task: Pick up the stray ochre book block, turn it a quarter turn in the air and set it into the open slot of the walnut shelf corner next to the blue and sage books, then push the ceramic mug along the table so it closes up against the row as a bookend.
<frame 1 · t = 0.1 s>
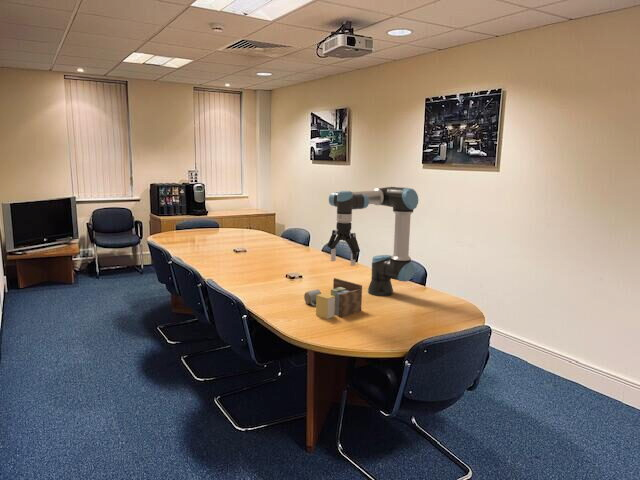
hand: (342, 263, 241), 28 cm above the table, fingers open, 13 cm apart
shelf corner: (330, 309, 256), on the table
ceramic mug: (314, 304, 265), on the table
ochre book: (325, 316, 245), on the table
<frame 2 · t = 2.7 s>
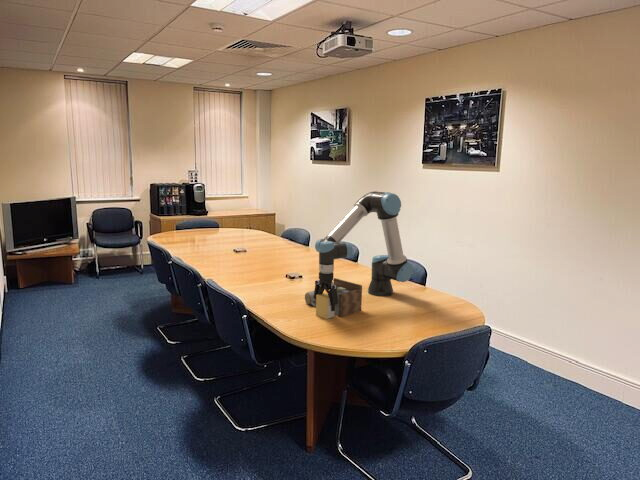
hand: (325, 314, 244), 1 cm above the table, fingers closed on ochre book, 8 cm apart
ochre book: (325, 316, 245), on the table, touching gripper
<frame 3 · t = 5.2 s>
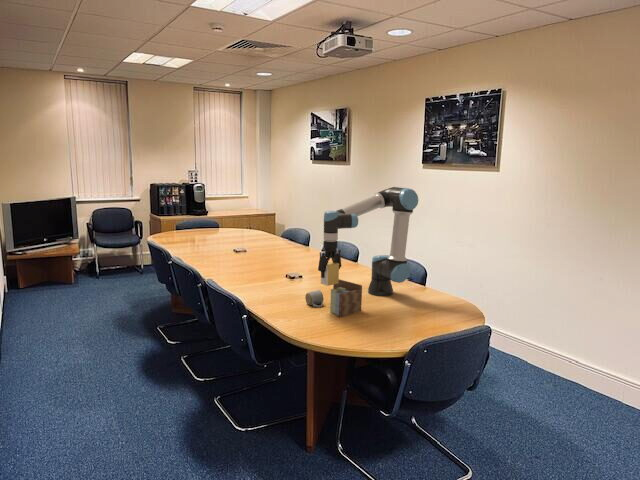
hand: (329, 282, 254), 15 cm above the table, fingers closed on ochre book, 8 cm apart
ochre book: (329, 283, 254), point 14 cm above the table, touching gripper
when the fingers open (2 cm above the table, at t = 7.9 s): ochre book drops 1 cm, on the table.
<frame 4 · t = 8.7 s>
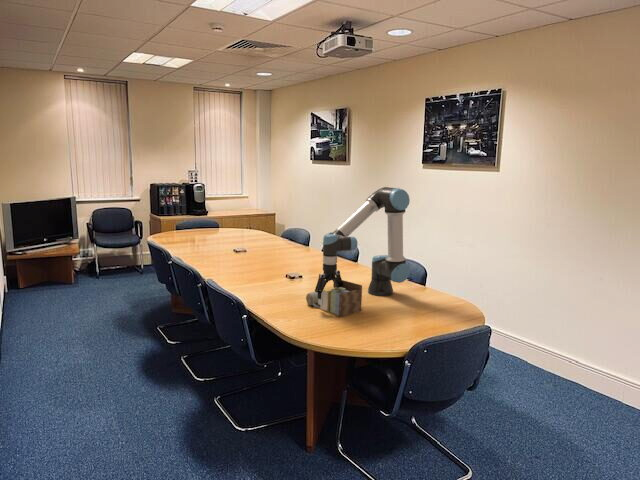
hand: (329, 302, 256), 4 cm above the table, fingers open, 12 cm apart
ceramic mug: (316, 305, 262), on the table
ochre book: (329, 308, 257), on the table
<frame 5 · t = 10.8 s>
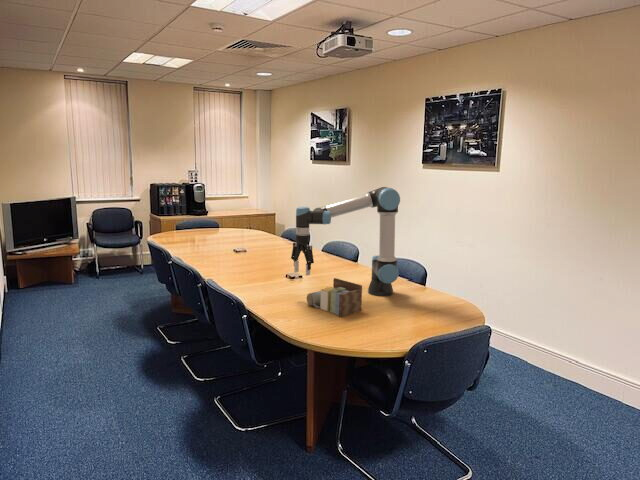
hand: (302, 273, 269), 15 cm above the table, fingers open, 9 cm apart
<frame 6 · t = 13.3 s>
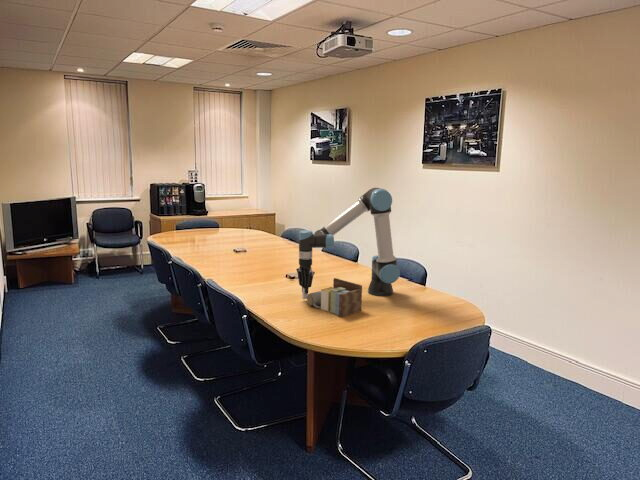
hand: (305, 298, 270), 1 cm above the table, fingers closed
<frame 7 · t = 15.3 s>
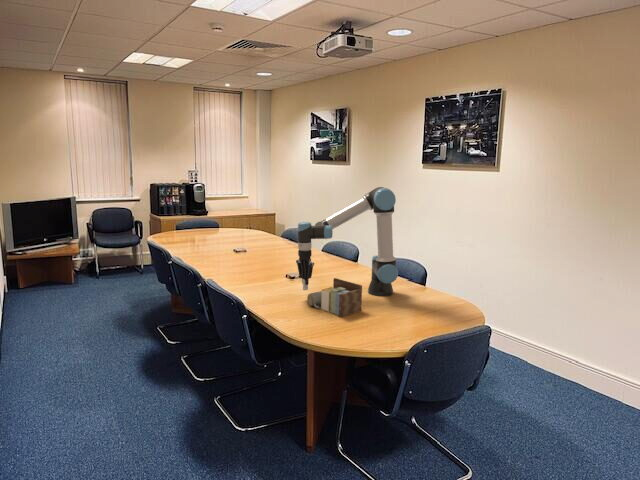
hand: (305, 289, 272), 6 cm above the table, fingers closed
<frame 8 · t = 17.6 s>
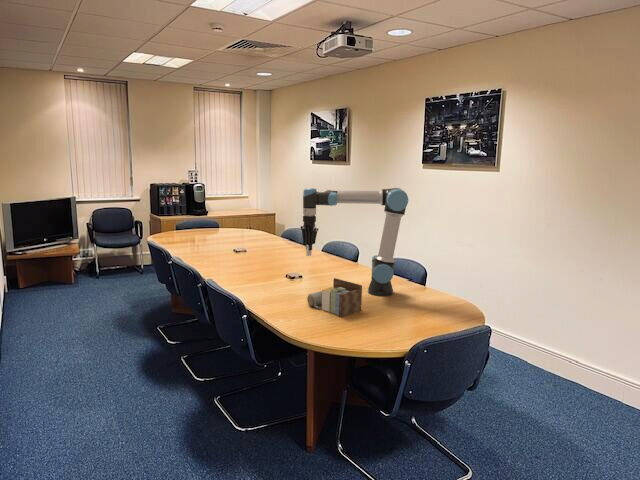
hand: (308, 255, 275), 24 cm above the table, fingers closed
at the end: ochre book 1.2 cm from the target spot, on the table; ochre book tilted 0°; ceramic mug inside the target area (1.7 cm from its centre), on the table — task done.
